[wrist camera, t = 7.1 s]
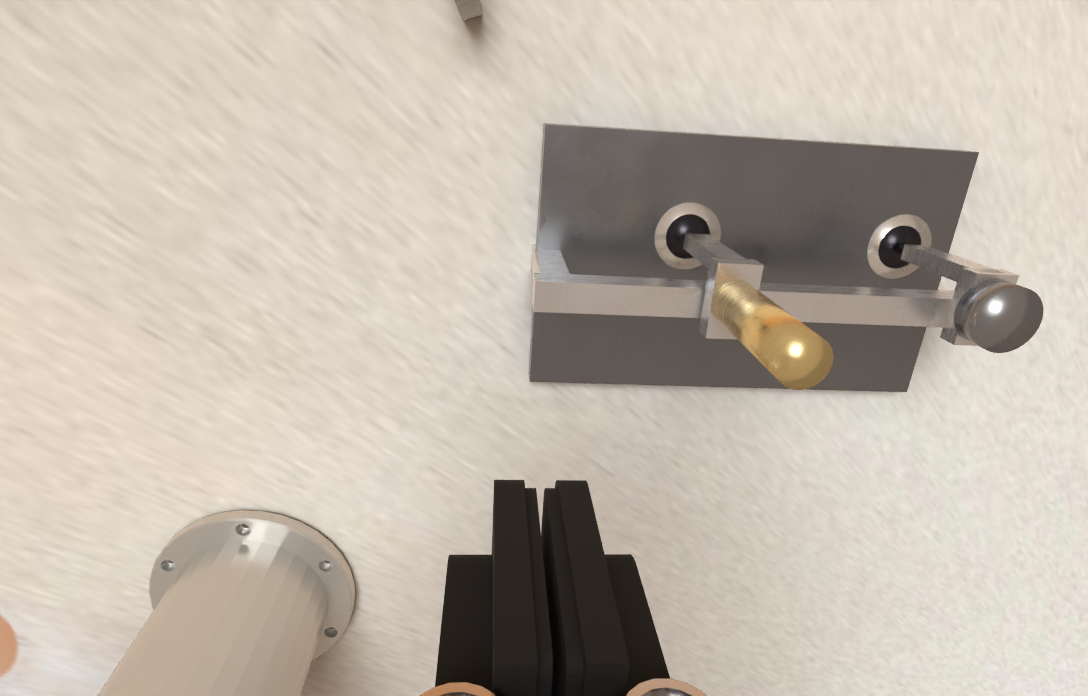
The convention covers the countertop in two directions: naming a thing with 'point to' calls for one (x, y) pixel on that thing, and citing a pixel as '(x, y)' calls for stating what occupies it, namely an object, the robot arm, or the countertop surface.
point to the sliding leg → (756, 316)
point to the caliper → (469, 8)
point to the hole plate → (736, 244)
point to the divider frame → (820, 299)
